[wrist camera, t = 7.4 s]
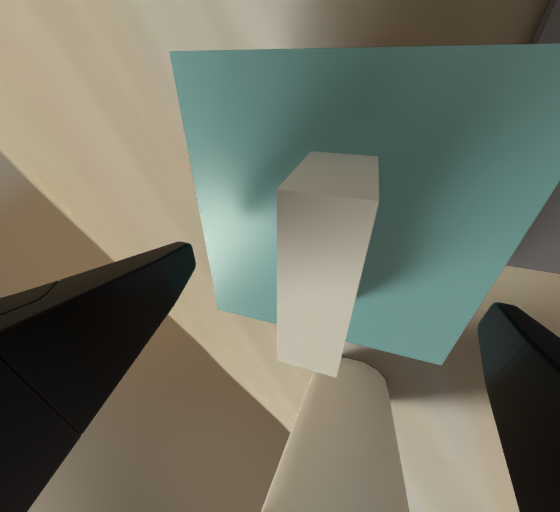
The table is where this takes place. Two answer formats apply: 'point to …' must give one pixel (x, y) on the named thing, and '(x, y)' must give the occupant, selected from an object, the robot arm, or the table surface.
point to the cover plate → (424, 183)
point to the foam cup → (341, 448)
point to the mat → (556, 211)
